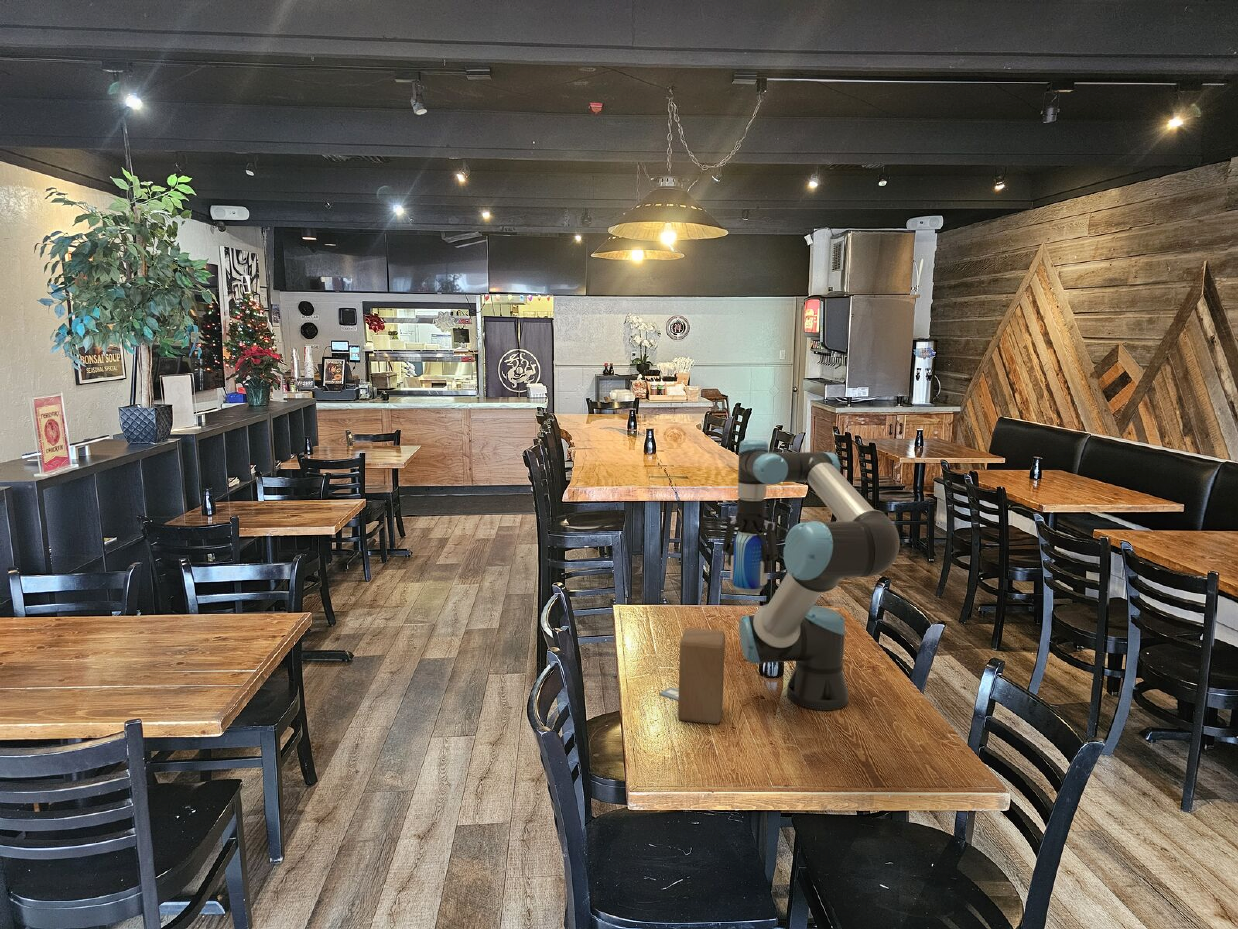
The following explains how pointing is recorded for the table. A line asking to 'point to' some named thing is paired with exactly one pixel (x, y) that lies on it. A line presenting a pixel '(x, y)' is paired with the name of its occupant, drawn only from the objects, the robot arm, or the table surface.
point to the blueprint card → (670, 693)
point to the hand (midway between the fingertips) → (748, 581)
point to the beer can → (747, 563)
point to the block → (701, 675)
